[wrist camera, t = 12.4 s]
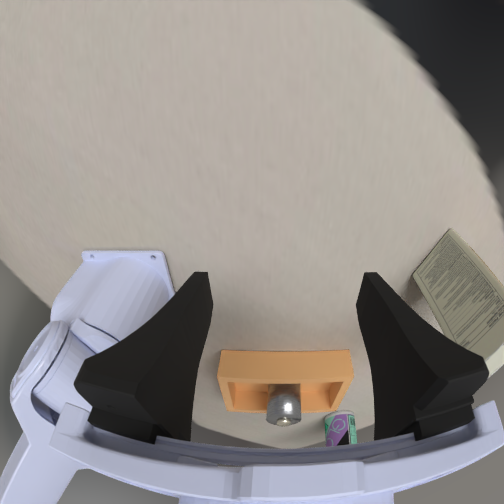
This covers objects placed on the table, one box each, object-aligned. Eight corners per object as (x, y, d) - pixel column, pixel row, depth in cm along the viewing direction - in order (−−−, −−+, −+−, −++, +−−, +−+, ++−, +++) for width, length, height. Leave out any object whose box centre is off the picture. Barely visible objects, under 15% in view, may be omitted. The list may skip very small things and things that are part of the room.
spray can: (331, 410, 40) (336, 515, 23) (359, 410, 40) (368, 510, 24) (319, 421, 43) (321, 517, 26) (345, 421, 43) (351, 513, 27)
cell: (265, 382, 33) (261, 427, 28) (274, 367, 31) (272, 416, 25) (293, 387, 33) (293, 430, 28) (305, 372, 31) (306, 420, 26)
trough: (230, 388, 36) (227, 411, 33) (221, 349, 31) (216, 376, 28) (333, 388, 35) (336, 410, 32) (349, 349, 30) (354, 376, 26)
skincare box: (433, 289, 24) (478, 387, 14) (409, 274, 23) (459, 383, 13) (472, 244, 20) (536, 334, 10) (452, 223, 20) (528, 321, 10)
